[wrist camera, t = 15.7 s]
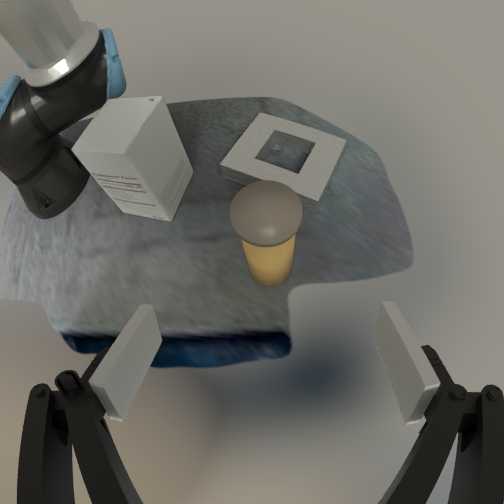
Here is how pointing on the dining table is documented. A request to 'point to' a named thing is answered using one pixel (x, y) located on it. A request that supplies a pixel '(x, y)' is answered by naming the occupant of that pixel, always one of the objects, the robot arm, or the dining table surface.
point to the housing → (292, 136)
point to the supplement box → (136, 156)
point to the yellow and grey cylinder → (267, 228)
